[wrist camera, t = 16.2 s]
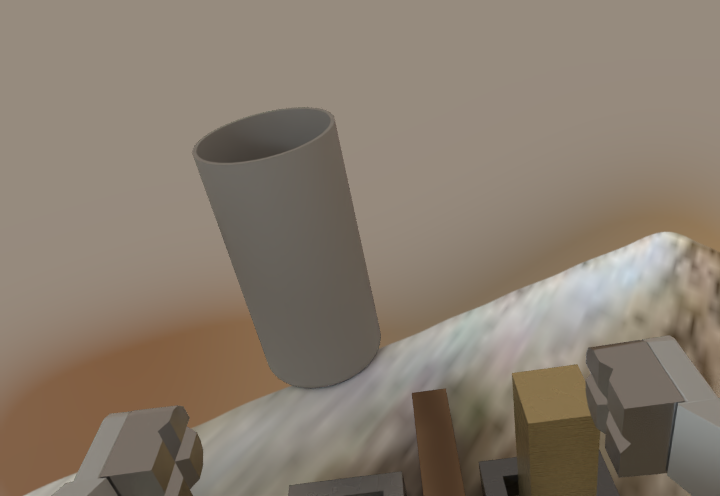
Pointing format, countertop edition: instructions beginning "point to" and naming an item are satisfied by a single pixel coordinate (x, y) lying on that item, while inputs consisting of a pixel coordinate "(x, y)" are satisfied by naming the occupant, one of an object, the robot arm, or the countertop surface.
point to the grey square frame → (354, 486)
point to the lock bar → (554, 433)
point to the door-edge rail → (436, 445)
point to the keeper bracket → (503, 478)
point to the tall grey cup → (293, 241)
